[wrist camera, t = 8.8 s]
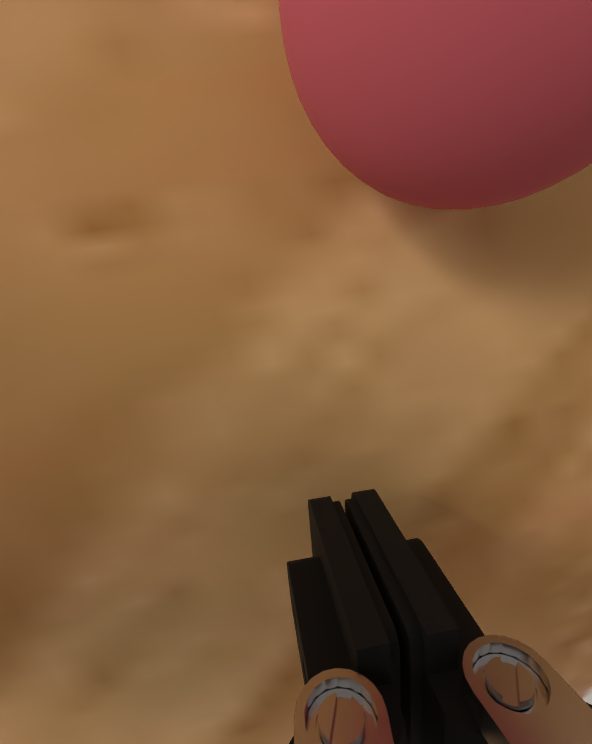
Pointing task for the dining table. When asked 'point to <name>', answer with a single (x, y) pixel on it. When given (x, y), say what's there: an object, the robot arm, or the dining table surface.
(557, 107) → the ball
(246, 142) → the dining table surface
